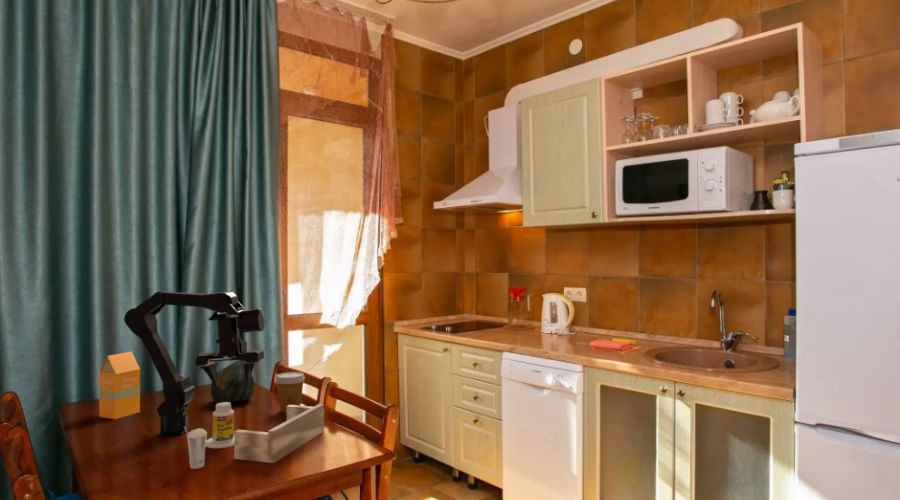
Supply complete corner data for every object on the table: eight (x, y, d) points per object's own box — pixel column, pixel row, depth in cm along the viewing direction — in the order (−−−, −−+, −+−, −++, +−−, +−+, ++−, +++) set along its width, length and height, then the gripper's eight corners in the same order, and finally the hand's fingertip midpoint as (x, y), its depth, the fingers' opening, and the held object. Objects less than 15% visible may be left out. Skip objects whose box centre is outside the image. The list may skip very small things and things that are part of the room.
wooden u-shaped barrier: (234, 458, 141) (234, 427, 141) (289, 427, 166) (289, 401, 166) (273, 463, 138) (273, 431, 138) (323, 431, 163) (323, 404, 163)
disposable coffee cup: (310, 407, 188) (310, 372, 188) (295, 415, 179) (295, 378, 179) (285, 405, 190) (285, 371, 190) (269, 413, 181) (269, 377, 181)
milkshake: (187, 463, 138) (187, 423, 138) (209, 462, 139) (209, 423, 139) (180, 470, 134) (180, 429, 134) (203, 469, 134) (203, 428, 134)
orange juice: (98, 416, 178) (98, 355, 178) (124, 409, 186) (124, 350, 186) (115, 419, 175) (115, 356, 175) (140, 411, 183) (140, 352, 183)
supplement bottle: (214, 445, 150) (214, 407, 150) (210, 439, 155) (210, 403, 155) (236, 441, 153) (235, 404, 153) (231, 435, 158) (231, 400, 158)
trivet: (199, 449, 148) (199, 447, 148) (210, 436, 158) (210, 435, 158) (238, 447, 150) (238, 445, 150) (246, 435, 159) (246, 433, 159)
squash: (195, 388, 193) (218, 358, 190) (227, 380, 207) (249, 352, 204) (217, 418, 189) (241, 388, 185) (249, 408, 202) (271, 380, 199)
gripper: (268, 327, 171) (272, 376, 171) (209, 331, 171) (213, 381, 172) (255, 333, 160) (259, 386, 160) (191, 338, 160) (196, 391, 161)
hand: (232, 386), depth 164 cm, fingers open, 9 cm apart
